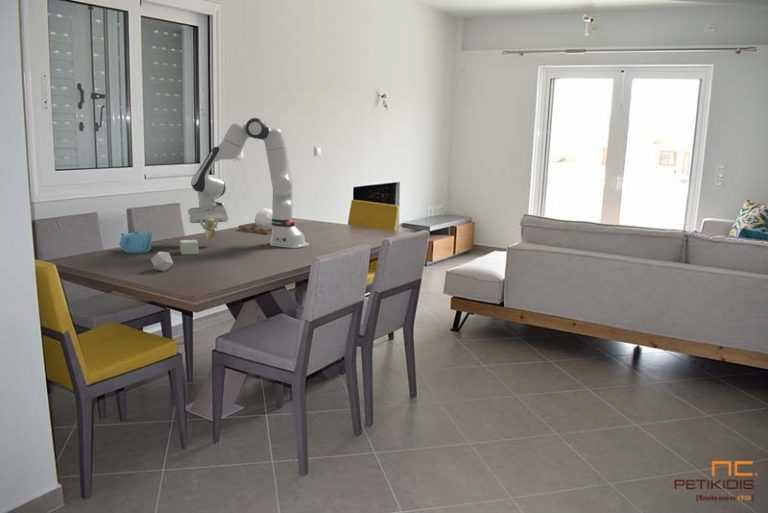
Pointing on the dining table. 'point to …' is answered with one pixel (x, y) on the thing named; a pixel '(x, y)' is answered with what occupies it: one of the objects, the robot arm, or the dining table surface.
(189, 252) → the sage cube
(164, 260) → the die
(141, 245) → the teapot
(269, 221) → the geodesic sphere
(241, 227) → the wooden rectangular frame
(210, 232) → the beech block
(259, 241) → the dining table surface
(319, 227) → the dining table surface
